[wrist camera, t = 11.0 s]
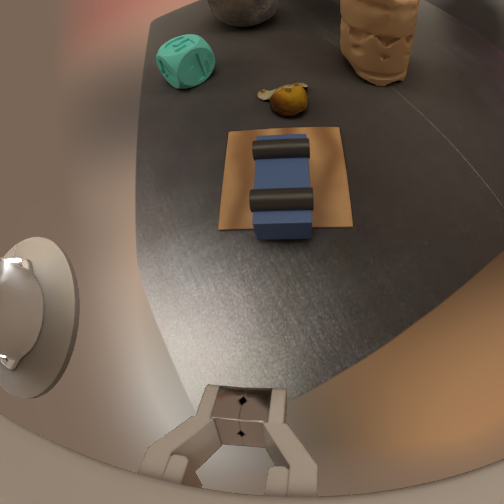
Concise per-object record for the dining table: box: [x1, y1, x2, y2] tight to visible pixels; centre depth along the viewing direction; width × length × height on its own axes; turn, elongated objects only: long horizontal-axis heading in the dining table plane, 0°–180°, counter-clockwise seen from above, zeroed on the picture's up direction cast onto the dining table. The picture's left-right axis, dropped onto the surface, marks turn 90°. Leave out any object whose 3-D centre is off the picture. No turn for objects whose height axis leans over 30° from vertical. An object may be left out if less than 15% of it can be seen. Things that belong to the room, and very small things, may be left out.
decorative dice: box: [156, 34, 215, 89], centre depth 47 cm, size 8×8×8 cm
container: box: [340, 0, 419, 86], centre depth 37 cm, size 13×13×18 cm
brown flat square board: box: [218, 127, 353, 230], centre depth 39 cm, size 16×16×1 cm
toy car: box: [249, 134, 314, 240], centre depth 34 cm, size 6×6×12 cm
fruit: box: [257, 82, 308, 117], centre depth 42 cm, size 8×8×4 cm
